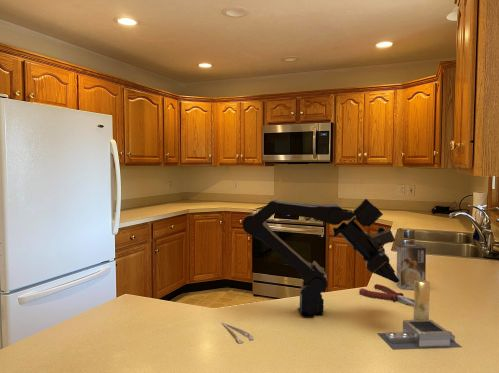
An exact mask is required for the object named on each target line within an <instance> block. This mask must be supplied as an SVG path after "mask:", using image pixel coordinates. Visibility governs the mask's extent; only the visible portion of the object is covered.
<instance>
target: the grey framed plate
mask: <svg viewBox="0 0 499 373" xmlns="http://www.w3.org/2000/svg"><path fill="white" fill-rule="evenodd" d="M385 333H386V339H387V340H388V341H389V342H390V343H391V344H395V343H414V344H416V345H417V346H418V347H419V348H423V347H450V342H456V339H455V338H456V336H455V334H453V332H452V331H450V330H447V329H446V328H444V327H443V326H441V325H440V324H439V323H437V322H435V321H434V320H432V319H429V320H414V319H409V320H402V331H397V332H396V331H393V332H391V331H389V332H385Z"/></svg>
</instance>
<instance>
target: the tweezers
mask: <svg viewBox="0 0 499 373" xmlns="http://www.w3.org/2000/svg"><path fill="white" fill-rule="evenodd" d="M219 323H220V324H221V325H222V326H223V327H224V328H225V329H226V330H227V331H228V332H229V333H230V334H231V335H232V336H233V338H234V339H235V340H236V341H237V342H238V343H239V344H243V343H244V340H241V339H240V338H239V337H238V336H237V334H236V333H235V332H234V331H236V332H237V333H239V334H241V335H242V336H244V337H246V338H248V339H249V341H250V342H251V341H253V340H254V336H253V335H252V334H251V333H249V332H247V331H245V330H244V329H241V328H238V327H236V326H233V325H230V324H227V323H225V322H223V321H219Z"/></svg>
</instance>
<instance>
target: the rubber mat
mask: <svg viewBox="0 0 499 373" xmlns="http://www.w3.org/2000/svg"><path fill="white" fill-rule="evenodd" d="M386 333H387V332H378V333H376V334H377V335H378V337H379V338H381V339H382V341H384V343H385V344H386V345H387V346H389V348H391V349H392V350H394V351H395V350H398V351H399V350H420V349H421V350H424V349H427V350H429V349H453V348H463V345H462V346H461V344H459V343H458V342H456V341H455V342H450V347H423V348H419V347H418V346H417V345H416V344H414V343H395V344H391V343H390V342H389V341H388V340H387V339H386Z"/></svg>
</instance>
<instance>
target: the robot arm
mask: <svg viewBox="0 0 499 373" xmlns="http://www.w3.org/2000/svg"><path fill="white" fill-rule="evenodd" d="M277 214H279V215H286V216H293V217H301V218H309V219H314V220H317V221H320V222H323V223H326V224H330V225H332V226H334V227H332V229H333V237H334V238H336V237H337V236H338V235H340V236H342V237H343V238H344V239H345V240H346V242H348V243H349V245H350V246H352V249H353V250H354V251H356V252H357V253H358V254H359V255H360V256H361V257H362V259H363V260H364V261H365V267H366V269H367V270H368V271H369V272H370V273H371V274H374V275H377V276H379V277H382V278H384V279H387V280H389V281H391V282H393V283H395V284H396V283H397V282H399V279H398V278H397V274H396V271H395V270H394V268H393V266H392V265H391V263H390V258H389V256H388V255H387V253H386V251H385V248H384V245H386V244H387V245H388V244H389V243H394V242H395V241H396V239H395V237H394V234H393V232H392V230H391V229H390V228H386V229H385V228H384V227H382V226H380V227H378V228H377V229H376V230H377V231H376V232H375V233H374V234H372V235H371V234H370V233H369V232H366V231H365V230H364V229H363V228H364V227H368V228H370V226H372V225H373V224H374V223H376V221H378V220H379V219H380V218H381V217H382V216H383V215H384V213H382V212H381V210H380V209H379V208H378V207H377V206H375V205H373V203H372V202H370V201H369V200H368V199H367V198H365V199H363V200H362V201H361V202H360V203H359V205H357V206H356V207H355V208H354V209H353V210H352V209H346V208H342V207H341V206H340V205H339V204H335V203H332V204H331V203H329V204H317V205H316V204H315V205H311V204H303V203H294V202H288V201H280V200H278V199H277V200H276V199H273V200H271V201H269V202H267V204H266V205H265V206H264V207H263V208H262V209H260V210H259V211H257V212H256V213H254V212H253V213H250V214H249V215H246V216H245V218H244V219H243V220H242V229H243V231H244V233H246V234H248V235H250V236H252V237H253V238H255V239H257V240H260V241H262V242H263V243H265V244H266V245H267V246H268V247H269V248H270V249H271V250H272V251H273V252H275V253H276V254H277V255H278V256H279V257H281V258H282V259H283V261H285V262H286V263H287V264H289V266H290V267H292V268H293V269H294V270H295V271H297V273H298V274H299V276H300V277H301V279H302V282H301V288H300V292H299V307H298V308H297V311H299V313H300V315H301V317H302V318H315V317H317V316H319V317H320V316H321V317H323V316H324V307H325V306H324V302H325V300H324V298H323V295H322V293H323V292H324V291H325V290H326V289H327V287H328V277H327V274H326V273H327V272H325V267H323V266H320V264H318V262H317V261H316V260H313V262H308V261H307V260H305V259H304V258H303V257H302V256H301V255H300V254H299V253H298V252H296V251H295V250H294V249H293V248H292V247H290V245H288V243H287V242H285V241H284V240H283V239H282V238H280V237H279V236H278V235H277V234H276V233H275V232H273V230H272V228H271V227H270V226H269V224H268V222H267V220H268V219H270V218H271V217H272V216H274V215H277ZM355 220H356V221H357V222H358V223H359V224H360V225H361V226H362V227H361V226H360V225H359V224H358V223H357V222H356V221H355ZM345 221H347V222H345ZM337 225H338V226H337ZM335 226H337V227H335Z"/></svg>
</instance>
